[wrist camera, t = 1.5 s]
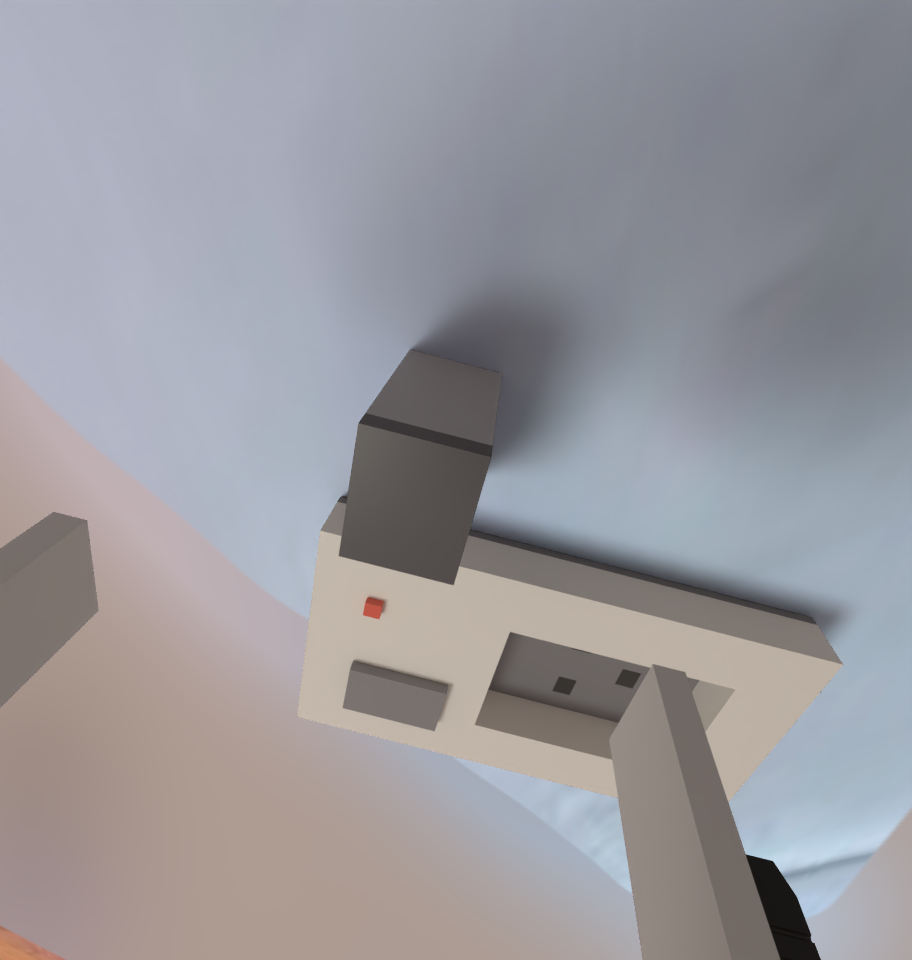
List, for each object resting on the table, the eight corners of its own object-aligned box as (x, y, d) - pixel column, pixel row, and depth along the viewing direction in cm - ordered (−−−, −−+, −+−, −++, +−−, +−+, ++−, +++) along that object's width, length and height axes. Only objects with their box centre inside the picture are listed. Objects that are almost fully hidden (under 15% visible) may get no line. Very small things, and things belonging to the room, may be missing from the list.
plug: (409, 349, 23) (358, 423, 16) (501, 373, 23) (491, 457, 16) (390, 453, 25) (338, 556, 18) (474, 474, 25) (453, 585, 18)
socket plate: (340, 496, 27) (315, 538, 24) (812, 617, 27) (850, 675, 24) (315, 674, 33) (292, 726, 30) (697, 771, 33) (715, 832, 30)
